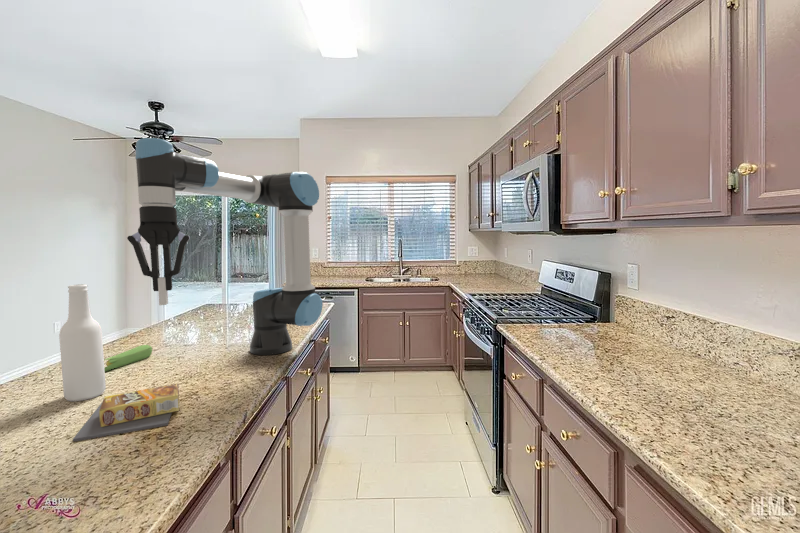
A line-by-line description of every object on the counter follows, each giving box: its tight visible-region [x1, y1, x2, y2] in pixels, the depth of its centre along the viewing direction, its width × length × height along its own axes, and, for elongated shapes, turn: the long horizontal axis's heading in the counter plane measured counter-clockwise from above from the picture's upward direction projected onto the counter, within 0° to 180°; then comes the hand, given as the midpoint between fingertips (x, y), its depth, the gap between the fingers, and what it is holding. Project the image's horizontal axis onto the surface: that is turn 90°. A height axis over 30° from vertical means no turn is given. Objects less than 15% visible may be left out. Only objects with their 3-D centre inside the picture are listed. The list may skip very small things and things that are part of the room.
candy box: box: [99, 383, 180, 427], centre depth 92 cm, size 9×4×15 cm
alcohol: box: [58, 283, 107, 402], centre depth 103 cm, size 9×9×30 cm
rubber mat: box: [72, 390, 180, 442], centre depth 93 cm, size 17×20×1 cm
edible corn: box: [104, 344, 153, 373], centre depth 131 cm, size 5×20×5 cm
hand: (163, 304), depth 94 cm, fingers closed
